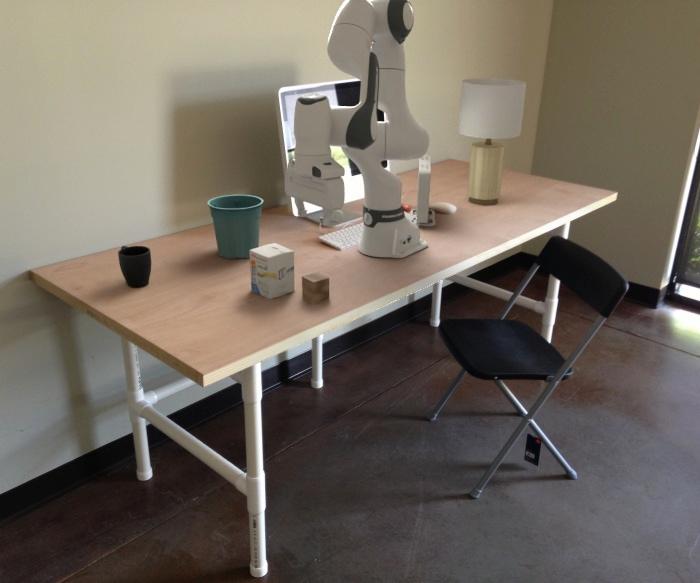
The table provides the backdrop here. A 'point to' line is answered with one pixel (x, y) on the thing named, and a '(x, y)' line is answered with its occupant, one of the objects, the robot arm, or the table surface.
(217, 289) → the table surface
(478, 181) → the lamp
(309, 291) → the walnut block
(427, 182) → the network device
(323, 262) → the table surface
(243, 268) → the table surface
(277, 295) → the ink box
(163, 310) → the table surface
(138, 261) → the mug
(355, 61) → the robot arm
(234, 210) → the flower pot
